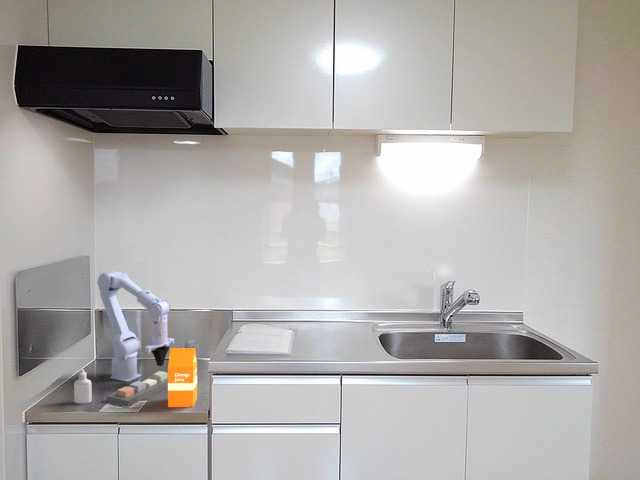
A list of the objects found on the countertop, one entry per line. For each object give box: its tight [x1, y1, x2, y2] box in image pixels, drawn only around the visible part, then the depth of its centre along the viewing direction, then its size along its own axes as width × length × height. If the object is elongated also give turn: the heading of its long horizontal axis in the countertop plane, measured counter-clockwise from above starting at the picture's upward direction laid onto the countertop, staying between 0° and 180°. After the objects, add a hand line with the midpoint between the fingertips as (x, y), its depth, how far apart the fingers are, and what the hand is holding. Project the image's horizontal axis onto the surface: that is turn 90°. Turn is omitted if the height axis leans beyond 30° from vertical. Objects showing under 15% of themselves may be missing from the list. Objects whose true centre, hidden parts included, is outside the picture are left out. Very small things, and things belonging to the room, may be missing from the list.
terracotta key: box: [116, 385, 134, 398], centre depth 174 cm, size 4×4×2 cm
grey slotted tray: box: [106, 374, 168, 407], centre depth 182 cm, size 10×26×2 cm, turn 157°
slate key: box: [129, 380, 146, 392], centre depth 180 cm, size 4×4×2 cm
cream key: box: [143, 379, 157, 387], centre depth 185 cm, size 4×4×2 cm
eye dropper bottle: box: [73, 368, 93, 405], centre depth 171 cm, size 4×6×12 cm
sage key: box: [152, 370, 168, 381], centre depth 191 cm, size 4×4×2 cm
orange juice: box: [167, 347, 198, 408], centre depth 172 cm, size 8×9×20 cm
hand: (160, 365), depth 190 cm, fingers closed
